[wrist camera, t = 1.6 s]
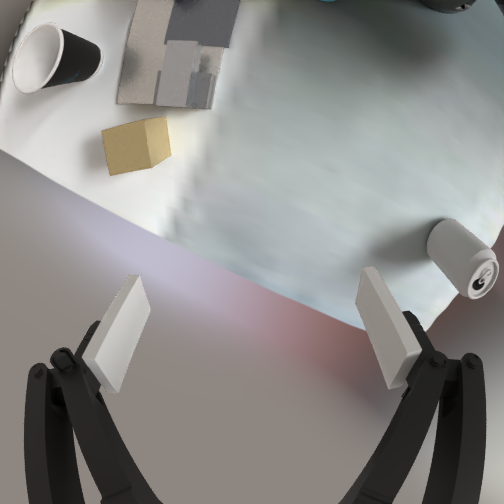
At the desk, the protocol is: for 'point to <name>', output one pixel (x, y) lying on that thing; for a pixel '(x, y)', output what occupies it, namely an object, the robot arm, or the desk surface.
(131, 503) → the robot arm
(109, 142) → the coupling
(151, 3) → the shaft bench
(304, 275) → the desk surface
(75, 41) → the dixie cup
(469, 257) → the can
